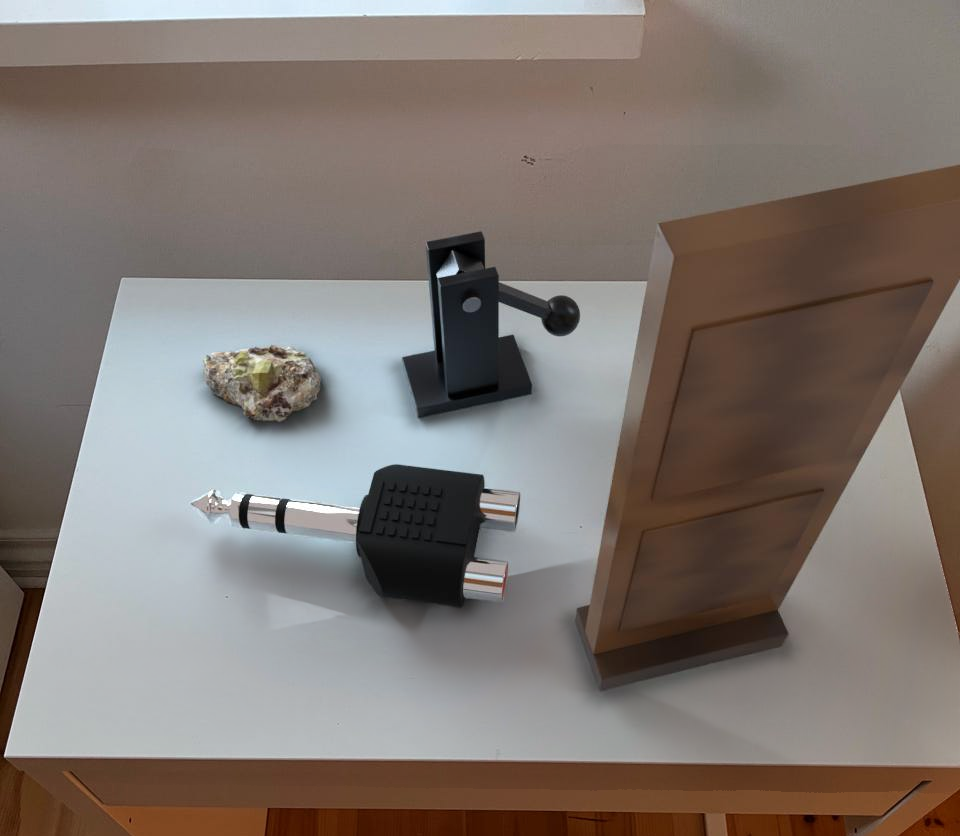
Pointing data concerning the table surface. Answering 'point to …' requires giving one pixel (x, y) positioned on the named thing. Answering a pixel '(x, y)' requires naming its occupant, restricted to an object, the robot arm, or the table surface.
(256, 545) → the table surface
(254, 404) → the mineral rock
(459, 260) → the lever
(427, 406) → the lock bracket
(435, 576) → the audio adapter
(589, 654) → the door
